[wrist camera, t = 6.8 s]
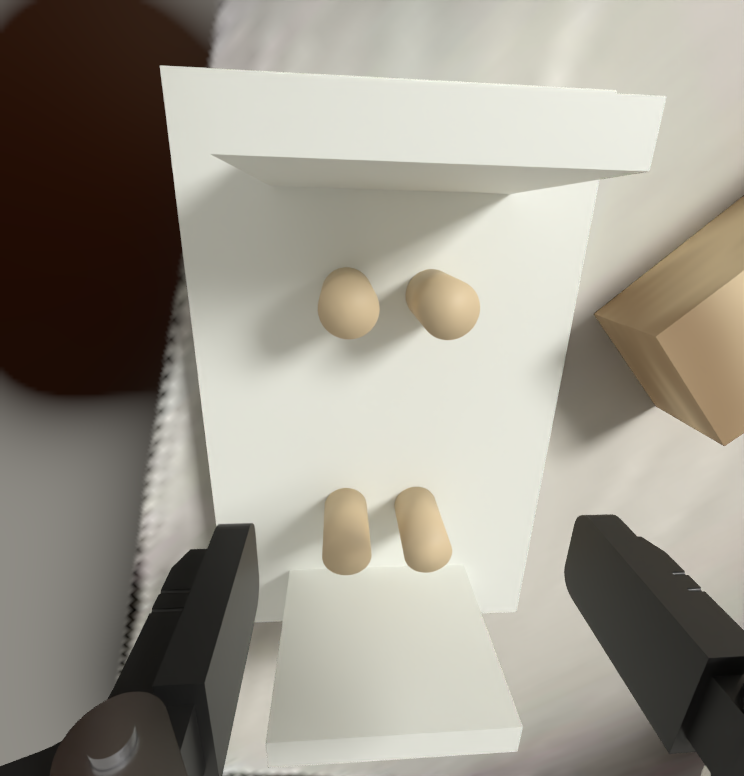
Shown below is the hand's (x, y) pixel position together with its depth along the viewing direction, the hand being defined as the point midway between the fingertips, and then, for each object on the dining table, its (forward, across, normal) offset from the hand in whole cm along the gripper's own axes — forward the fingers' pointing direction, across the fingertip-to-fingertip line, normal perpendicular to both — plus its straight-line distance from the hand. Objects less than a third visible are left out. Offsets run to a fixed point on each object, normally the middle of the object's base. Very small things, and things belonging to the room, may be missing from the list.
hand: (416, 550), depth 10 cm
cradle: (+9, 0, 0) cm, 9 cm away
